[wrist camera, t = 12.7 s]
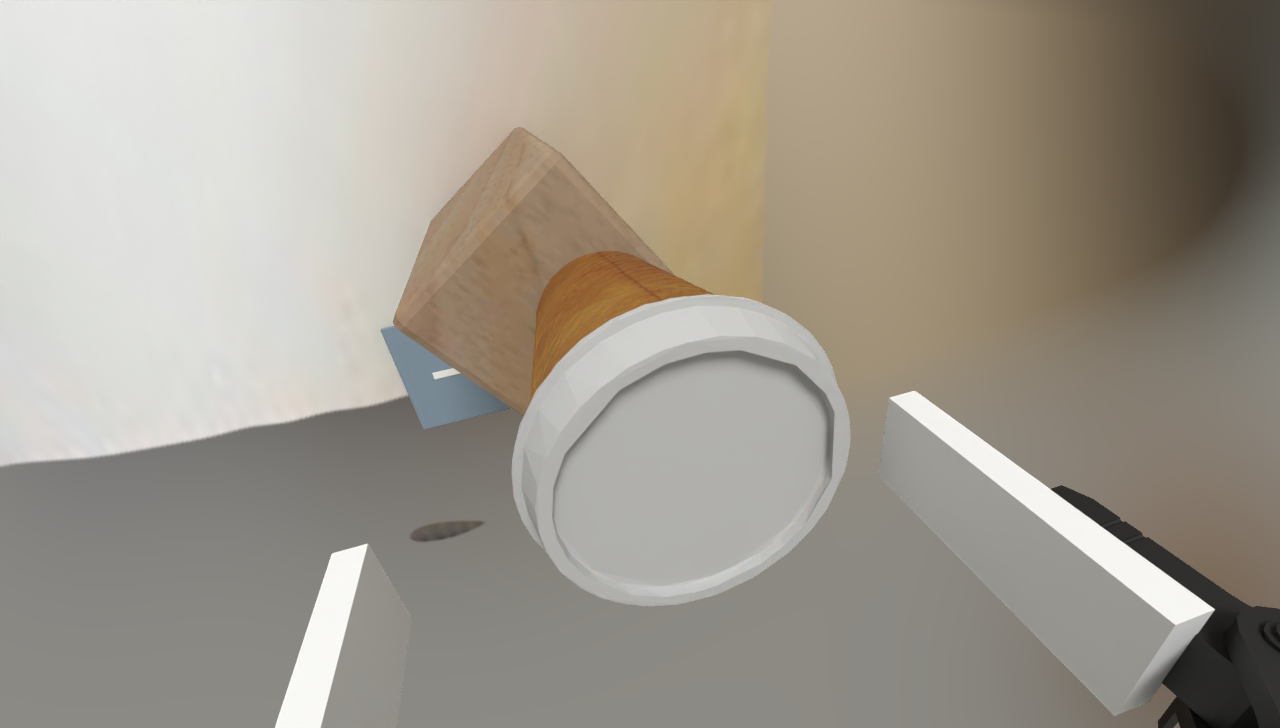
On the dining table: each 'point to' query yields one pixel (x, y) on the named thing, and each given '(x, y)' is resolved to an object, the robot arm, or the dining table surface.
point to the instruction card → (437, 384)
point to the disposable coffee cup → (671, 433)
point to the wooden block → (505, 262)
